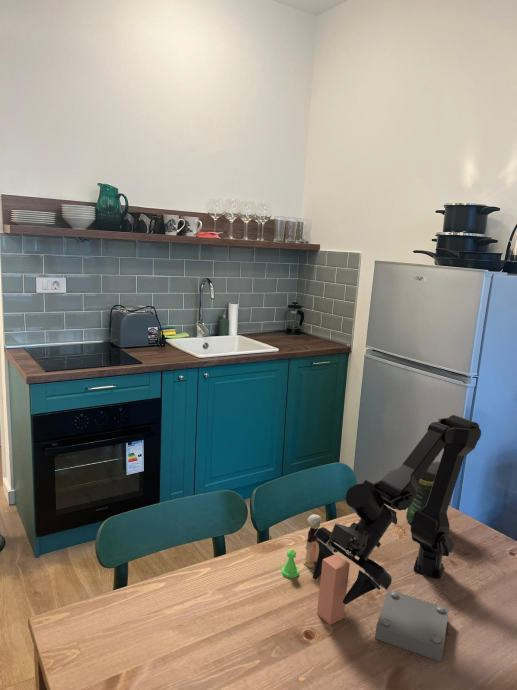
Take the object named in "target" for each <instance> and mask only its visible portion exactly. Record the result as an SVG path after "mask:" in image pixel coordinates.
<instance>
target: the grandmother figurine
mask: <svg viewBox="0 0 517 690" xmlns="http://www.w3.org/2000/svg"><path fill="white" fill-rule="evenodd" d="M306 520H307V522H308V524H309V527H310V528H309V530H308V533H307V539H306V545H305V550H306V553H305V559H304V562H303V565H304V566H306V567H308V568H310V569H312V568H313V569H314V568H315V566H316V564H315V563H317V559H318V554H319V546H318V543H317V542H316V540H319V539H317V538H316V537H315V536H314V534H315V533H316V531H317V530H318V529H319V528H320V526H321V521H322V517H321V516H320V515H318V514H310V516H309V517H308V518H307V519H306Z"/></svg>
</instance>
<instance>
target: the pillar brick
mask: <svg viewBox="0 0 517 690" xmlns="http://www.w3.org/2000/svg"><path fill="white" fill-rule="evenodd" d="M334 554H335V555H332V556H330V557H327V558H325V559H323V561H322V571H321V576H320V581H319V592H318V602H317V611H316V614H317V616H319V617H320V618H321V619H322V620H323V621H324V622H326V623H327V624H328V625H330V626H331V625H333V624H335V623H337V622H338V621H341V620H343V619H344V616H345V610H346V609H345V608H346V604H344V603H343V600H344V598H345V596H346V594H347V593H348V583H349V574H350V565H351V564H350V562H348V560H346V559H344V558H343V557H342V556H340V555H339V554H337V553H334Z"/></svg>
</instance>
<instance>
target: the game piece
mask: <svg viewBox="0 0 517 690" xmlns="http://www.w3.org/2000/svg"><path fill="white" fill-rule="evenodd" d="M286 557H287V558H288V559H287V560H286V562H285V564H284V565H283V566H281V568H280V569H281V575H283V576H284V577H286V578H290V579H294V578H296V577H297V576H299V574H300V572H299V567H297V565H296V562H295V559H297V558H296V557H297V551H295V550H293V549H289V550H287V551H286Z"/></svg>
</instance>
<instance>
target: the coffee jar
mask: <svg viewBox="0 0 517 690" xmlns="http://www.w3.org/2000/svg"><path fill="white" fill-rule="evenodd" d="M439 464H440V461H436V460H435V461H433V462H432V464H431V465H430V466H429V468H428V469H427V471H426V472H425V473H424V475H423V476H422V477H421V479H420V480H419V482H418V487H417V494H416V496H415V498H414V499H413V502H412V504H411V505H410V506H409V507H408V508H407V509H406V516H405V517H406V520H407V522H408V523H409V524H411V523H412V520H413V518H414V513H415V512H416V511H417V510H418V511H420V510H421V509H422V508H424V507H425V506H426V504H427V501H428V498H429V495H430V492H431V489H432V486H433V482H434V479H435V476H436V473H437V470H438V467H439Z"/></svg>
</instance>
